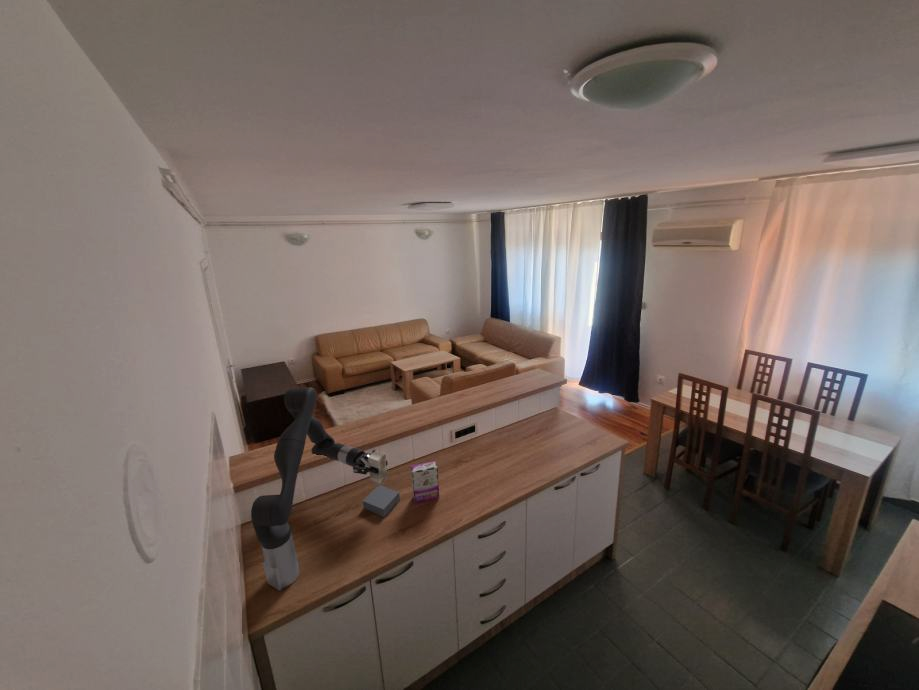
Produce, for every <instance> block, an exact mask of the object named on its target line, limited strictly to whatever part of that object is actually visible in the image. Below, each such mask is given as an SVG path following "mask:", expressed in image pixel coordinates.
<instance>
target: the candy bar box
mask: <svg viewBox="0 0 919 690" xmlns="http://www.w3.org/2000/svg"><path fill="white" fill-rule="evenodd" d="M437 465H438V464H437V462H436V460H435V461H429V462H423V463H418V464H413V465H410V469H411V470H410V472H411V483H412V495H413V502H414V504H417V503H422V502H426V501H427V502H428V501H432V500H435V499H439V498H440V489H439V488H440V487H439V471H438V470H439V469H438V466H437Z"/></svg>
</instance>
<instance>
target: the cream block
mask: <svg viewBox="0 0 919 690" xmlns="http://www.w3.org/2000/svg"><path fill="white" fill-rule="evenodd" d="M371 453H372V452H371ZM386 455H387V454H386V453H384V452H381V451H378V450H375V452H374V453H372V454H371V455H370V456H369V457H368V462H369V465H370V466H373V467H375V468H378V469H379V473H378V474H377V473H376V474H375V473H372V472H369V478H370V482H371V483H374V484H376V485H381V486H382V484H383V482H384V481H386V480H387V479H388V470H387V466H386V460H387V457H386Z"/></svg>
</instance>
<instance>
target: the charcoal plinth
mask: <svg viewBox="0 0 919 690" xmlns="http://www.w3.org/2000/svg"><path fill="white" fill-rule="evenodd" d="M400 498H401V497H400V492H399V491H397V490H394V489H391V488H388V487H386V486H383V485H382V484H381V485H379V484H377V486H376V487H375V488H374V489H373V490H372V491H371V492H370V493H369V494H368V495H367V496H366V497H364V499H363V500H362V506H363V507H362V508H363V509H364V510H367V511H369V512H372V513H374V514H376V515H379V516H381V517H382V518H383V517H384V518H385V517H386V516H387V514H389V512H391V510H392V509H394V507H395V506H396V505H397V504H398V502H399V501H400Z"/></svg>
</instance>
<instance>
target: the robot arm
mask: <svg viewBox="0 0 919 690" xmlns="http://www.w3.org/2000/svg"><path fill="white" fill-rule="evenodd" d="M283 398H284V399H283V401H284V402H283V403H284V406H285V408H286V409H287V411H288V412H289V414H290V415H291V416H292V417H293V418H294V421H292V423H291V424H290V425H289V426H288V427H286V429H285V430H284V431H283V432H282V433H281V435H279V438H278V439H277V443H276V447H275V449H274V454H273V459H274V463H275V466H276V468H277V471H278V472H279V475H280V478H281V488H280V490H281V491H280V493H279V494H265V495H260V496H258V497H257V498H255V500H254V501H253V502H252V506H251V510H250V518H251V523H252V527H253V529H254V532H255V535H256V536H255V537H256V539H257V541H258V542H259V543H260V545H261V549H262V554H263V557H264V561H263V562H262V565H263V570H264V573H265V578H266V582H267V585H270V586H271V587H273V588H274V589H276V590H277V591H282V590H283V589H284V588H286V587H289V586H290V585H292V584H293V583H295V581H296V580H297V579H298V577H299V575H300V566H299V562H298V557H297V552H296V548H295V547H296V546H295V543H294V538H293V537H294V536H293V533H292V529H291V525H290V524H289V523H288V521H289V519H290V517H291V514H292V509H293V504H294V503H293V502H294V498H295V490H296V483H297V478H298V474H299V469H300V465H301V462H302V458H303V454H304V449H305V445H306V440H307V436H308V439H309V440H310V442H311V443H313V444H314V445H313V446H312V447H311V454H312V455H313V454H316V455H324V456H327V457H329V458H330V459H329V460H334V461H338V462H340V463H342V464H344V465H347V466H350V467H352V472H353V474H360V475H367V474H368V473H370V472H372V473H375V474H376V473H377V474H378V473H379V469H378V468H375V467H373V466H370V465H369V462H368V457H369V456H370V455H371V454H372V453H374V452H375V451H376V450H375V449H372V451H371V452H370V453H369V452H368V453H366V452H365V451H364V450H363V449H360V448H356V447H354V446H350V445H345V444H343V443H339V442H337V443H335V441H336V440H335V438H333V437H332V436H331V435H329V433H328V432H327V431H326V430H325V427H324V425H323V424H322V422H321V421H320V420H319V419H318V418H317V417H315V416H314V413H315V409H316V406H317V401H318V393H317V390H316V389H315V388H314V387H309V386H308V387H306V386H304V387H296V388H295V387H294V388H290V389H287V390H286V392H285V394H284V397H283ZM388 462H389V461H388V460H387V459H386V467H387V466H388V464H389V463H388Z"/></svg>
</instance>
